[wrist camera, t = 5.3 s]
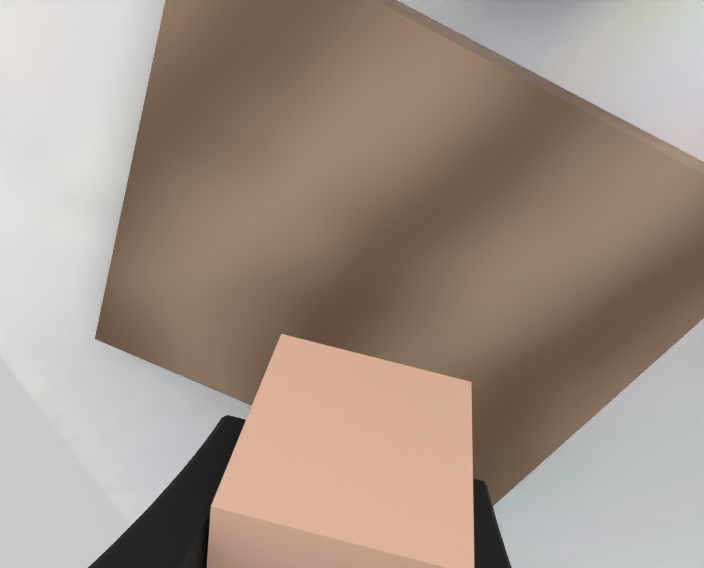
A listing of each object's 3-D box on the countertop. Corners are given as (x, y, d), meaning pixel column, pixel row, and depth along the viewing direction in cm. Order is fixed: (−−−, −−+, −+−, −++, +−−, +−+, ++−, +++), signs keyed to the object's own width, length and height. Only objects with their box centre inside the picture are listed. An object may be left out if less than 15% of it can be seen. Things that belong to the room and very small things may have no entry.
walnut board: (782, 204, 15) (805, 226, 14) (490, 480, 23) (491, 507, 22) (207, -99, 13) (186, -98, 12) (111, 317, 21) (94, 338, 20)
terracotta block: (471, 381, 12) (474, 575, 8) (421, 493, 14) (408, 678, 11) (281, 333, 12) (211, 505, 8) (263, 453, 14) (202, 624, 11)
